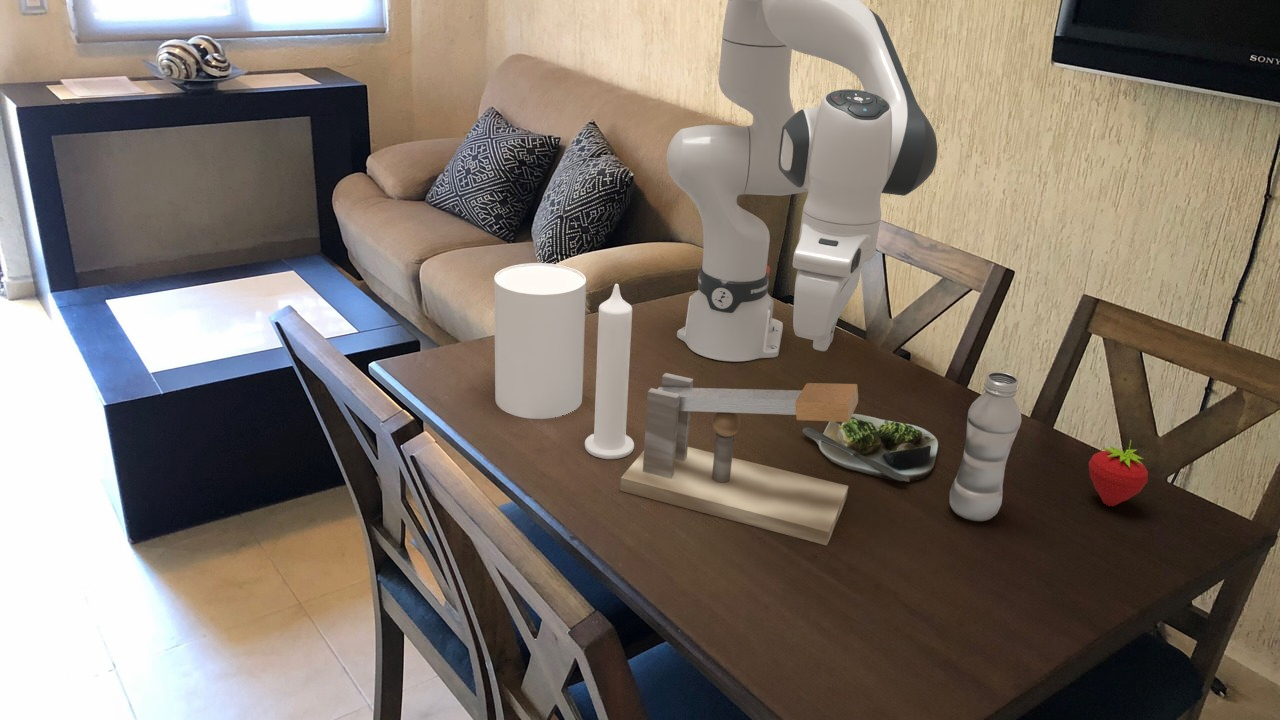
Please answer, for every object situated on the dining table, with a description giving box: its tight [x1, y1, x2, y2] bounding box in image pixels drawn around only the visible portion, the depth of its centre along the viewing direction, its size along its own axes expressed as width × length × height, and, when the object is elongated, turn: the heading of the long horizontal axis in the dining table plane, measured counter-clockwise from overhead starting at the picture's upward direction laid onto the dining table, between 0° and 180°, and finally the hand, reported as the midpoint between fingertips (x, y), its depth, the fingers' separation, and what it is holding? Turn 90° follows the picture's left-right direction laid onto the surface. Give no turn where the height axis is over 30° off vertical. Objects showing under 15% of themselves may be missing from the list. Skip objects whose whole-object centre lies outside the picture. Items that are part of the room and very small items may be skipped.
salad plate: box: [802, 413, 940, 483], centre depth 147 cm, size 19×18×5 cm
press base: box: [619, 372, 849, 546], centre depth 131 cm, size 12×28×14 cm, turn 68°
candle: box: [584, 283, 635, 460], centre depth 139 cm, size 7×7×25 cm
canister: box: [493, 262, 587, 420], centre depth 153 cm, size 14×14×20 cm
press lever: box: [657, 382, 859, 422], centre depth 128 cm, size 6×26×2 cm, turn 68°
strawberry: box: [1088, 439, 1149, 507], centre depth 135 cm, size 6×8×10 cm
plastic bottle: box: [949, 371, 1022, 522], centre depth 129 cm, size 6×7×20 cm
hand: (822, 346), depth 122 cm, fingers closed
